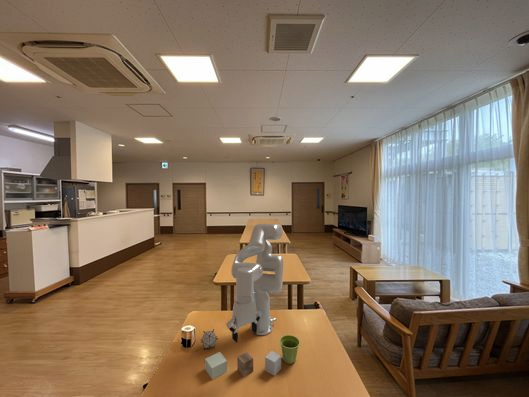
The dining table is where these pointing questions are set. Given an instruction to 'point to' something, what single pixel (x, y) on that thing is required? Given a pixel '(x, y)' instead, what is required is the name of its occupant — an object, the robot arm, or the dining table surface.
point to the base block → (216, 365)
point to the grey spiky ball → (209, 339)
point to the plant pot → (289, 348)
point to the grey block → (273, 363)
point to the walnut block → (245, 364)
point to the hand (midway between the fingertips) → (244, 336)
